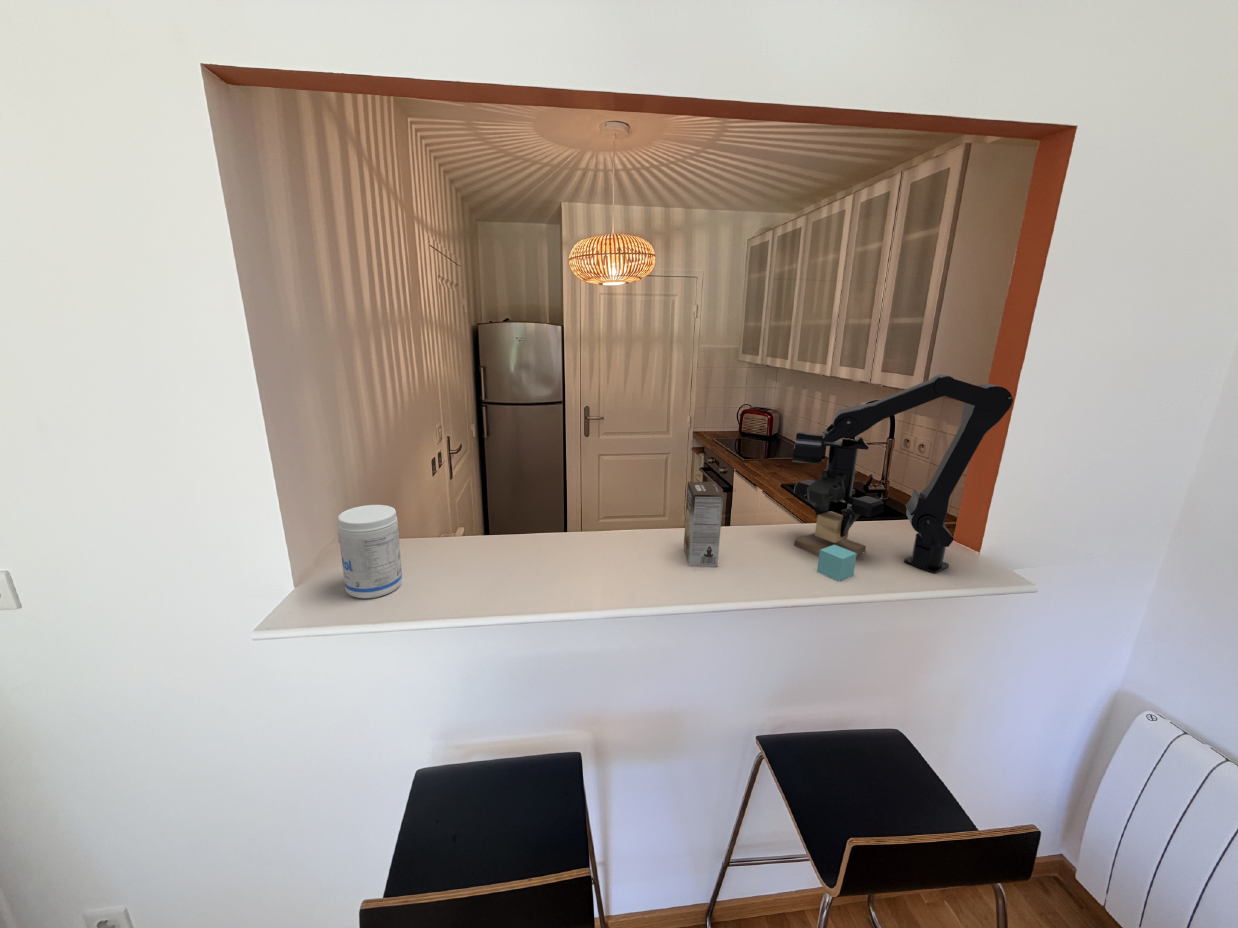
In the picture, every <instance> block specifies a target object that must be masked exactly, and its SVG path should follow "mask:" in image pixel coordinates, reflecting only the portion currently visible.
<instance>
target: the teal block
mask: <svg viewBox="0 0 1238 928" xmlns="http://www.w3.org/2000/svg"><path fill="white" fill-rule="evenodd" d="M857 556H858V555H857V553H855V552H852V551H849V550H847V549H844V548H842V547H839V546H837V545H832V546H829V547H826V548H824V549H821V550H820V553H819V556H818V562H817V568H816V573H819V574H821V575H823V576H825V575H826V576H825V577H827V578H830V579H832V578H833V579H832V580H835V581H836V580H837V582H839V581H840V582H842V581H844V580H846V579H848V577H849V578H851V577H853V576H854V573H855V569H856V568H855V567H856V561H857ZM852 575H853V576H852ZM841 580H842V581H841Z"/></svg>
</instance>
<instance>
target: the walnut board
mask: <svg viewBox="0 0 1238 928" xmlns="http://www.w3.org/2000/svg"><path fill="white" fill-rule="evenodd" d="M793 542H794V543H793V547H796V548H798V549H801V550H803V551H806V552H808V553H810V552H811V553H810V554H812V555H816V556H817V555H818V556H817V557H819V553H820V550H821V549H824V548H826V547H829V546H832V545H837V546H839V547H842V548H844V549H847V550H849V551H852V552H855V553H857V556H860V555H861V554H864V553H866V548H867V546H866V544H865V545H864V544H863V543H859V542H857V541H853V540H850V539H848V538H847V539H844V540H842V541H839V542H836V543H833V542H831V541H828V540H825V539H823V538H820V537H818V536H815V532H813V533H810V534H807V535H804V536H802V537H799V538H797V539H794V541H793ZM863 552H864V553H863ZM859 554H860V555H859Z"/></svg>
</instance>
